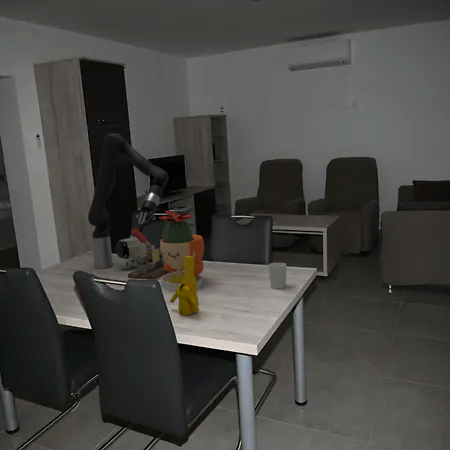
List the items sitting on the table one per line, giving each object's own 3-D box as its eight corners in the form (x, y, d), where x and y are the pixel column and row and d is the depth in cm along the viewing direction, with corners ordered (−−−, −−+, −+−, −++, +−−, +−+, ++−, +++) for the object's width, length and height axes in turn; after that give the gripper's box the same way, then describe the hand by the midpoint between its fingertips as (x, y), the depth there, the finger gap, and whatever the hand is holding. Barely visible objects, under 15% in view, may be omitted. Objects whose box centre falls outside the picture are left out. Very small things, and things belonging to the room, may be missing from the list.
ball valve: (126, 272, 237) (123, 239, 234) (117, 270, 243) (113, 238, 240) (152, 264, 251) (150, 233, 248) (143, 262, 256) (140, 232, 253)
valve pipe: (135, 274, 224) (133, 249, 222) (158, 264, 242) (156, 241, 240) (145, 275, 222) (143, 249, 220) (167, 265, 240) (165, 241, 237)
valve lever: (148, 249, 231) (131, 232, 218) (149, 245, 232) (132, 228, 219) (152, 249, 230) (135, 232, 217) (153, 245, 231) (136, 228, 218)
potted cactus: (183, 293, 196) (177, 215, 190) (152, 285, 211) (145, 212, 205) (217, 281, 212) (212, 208, 206) (185, 274, 227) (180, 206, 221)
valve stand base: (128, 277, 227) (127, 273, 227) (150, 267, 245) (150, 263, 244) (154, 280, 220) (154, 276, 220) (175, 269, 238) (175, 265, 237)
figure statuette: (166, 310, 177) (162, 256, 173) (182, 304, 182) (178, 252, 178) (195, 321, 164) (191, 263, 160) (211, 314, 169) (207, 258, 166)
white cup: (288, 284, 201) (287, 262, 199) (285, 289, 194) (284, 267, 192) (271, 283, 204) (270, 262, 202) (267, 288, 196) (266, 266, 195)
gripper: (136, 199, 229) (123, 227, 221) (157, 199, 224) (146, 228, 215) (143, 208, 235) (131, 235, 226) (164, 208, 229) (153, 236, 221)
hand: (138, 231), depth 221 cm, fingers closed
